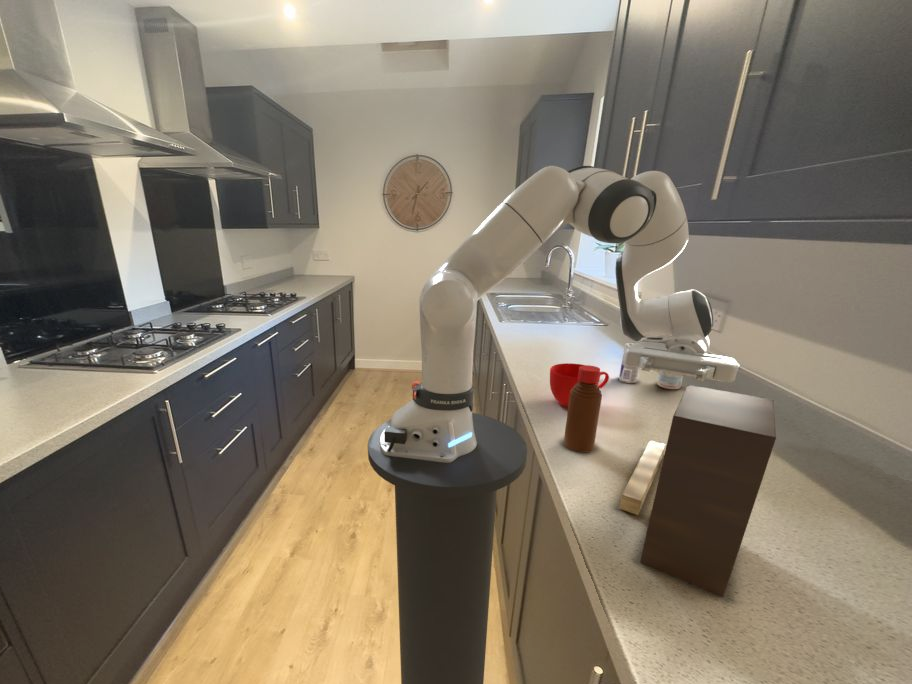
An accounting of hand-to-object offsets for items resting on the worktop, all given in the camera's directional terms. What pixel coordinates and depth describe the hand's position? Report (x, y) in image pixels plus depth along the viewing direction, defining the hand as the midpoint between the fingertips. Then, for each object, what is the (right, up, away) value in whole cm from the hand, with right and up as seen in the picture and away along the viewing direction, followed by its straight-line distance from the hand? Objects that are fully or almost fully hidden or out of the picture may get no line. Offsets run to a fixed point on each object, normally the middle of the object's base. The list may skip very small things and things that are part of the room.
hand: (672, 371), depth 83 cm
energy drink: (+19, -2, +50) cm, 54 cm away
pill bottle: (+29, -3, +45) cm, 53 cm away
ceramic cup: (-4, -8, +34) cm, 36 cm away
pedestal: (-11, -28, -20) cm, 36 cm away
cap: (-14, +1, +5) cm, 15 cm away
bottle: (-14, -17, +12) cm, 25 cm away
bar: (-7, -21, -2) cm, 23 cm away
